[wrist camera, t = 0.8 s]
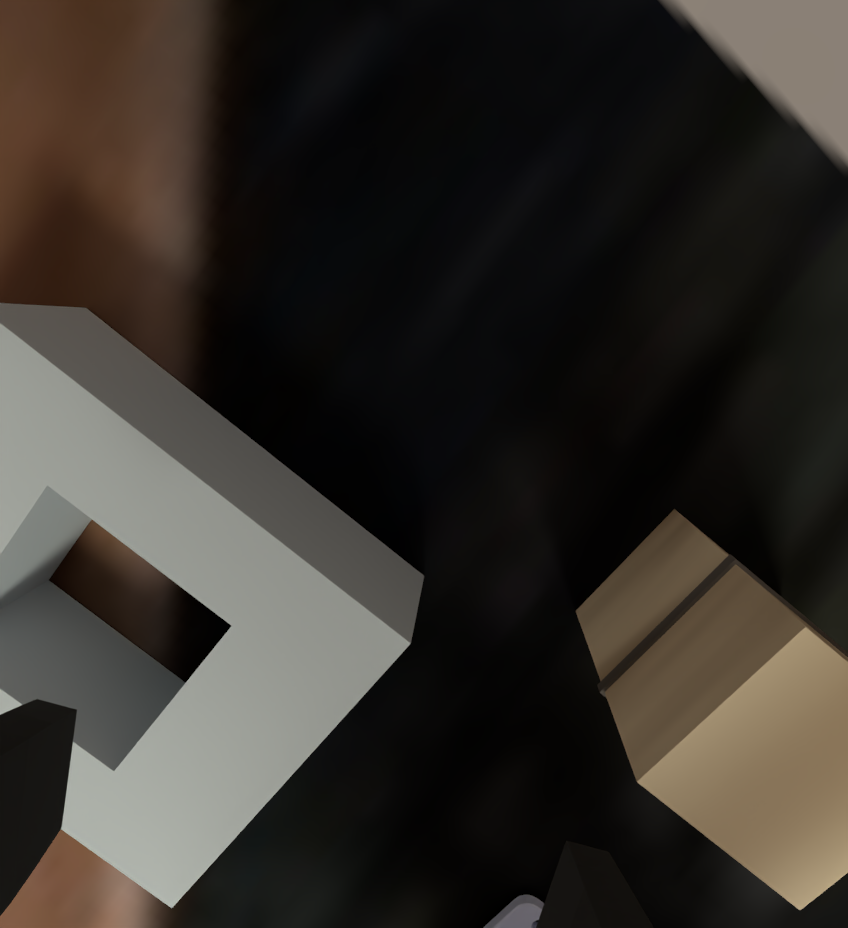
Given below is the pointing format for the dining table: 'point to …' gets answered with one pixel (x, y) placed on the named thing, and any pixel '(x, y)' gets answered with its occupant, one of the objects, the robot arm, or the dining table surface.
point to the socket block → (196, 571)
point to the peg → (727, 706)
